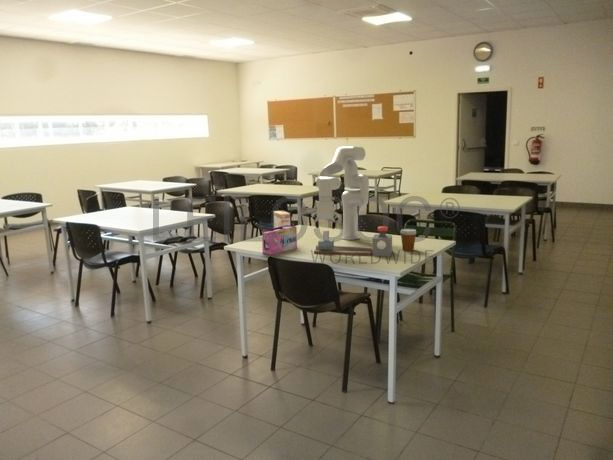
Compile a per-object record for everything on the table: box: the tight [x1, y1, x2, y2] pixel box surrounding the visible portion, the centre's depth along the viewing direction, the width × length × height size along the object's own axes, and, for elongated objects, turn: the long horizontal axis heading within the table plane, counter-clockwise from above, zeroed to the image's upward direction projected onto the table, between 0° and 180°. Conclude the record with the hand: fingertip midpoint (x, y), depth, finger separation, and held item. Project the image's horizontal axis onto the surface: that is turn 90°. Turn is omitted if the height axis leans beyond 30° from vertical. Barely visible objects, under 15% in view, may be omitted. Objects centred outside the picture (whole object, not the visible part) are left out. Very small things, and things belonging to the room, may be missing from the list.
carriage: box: [317, 229, 335, 250], centre depth 302 cm, size 7×8×11 cm
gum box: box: [261, 225, 298, 256], centre depth 307 cm, size 24×8×14 cm, turn 140°
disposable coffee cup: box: [399, 228, 417, 252], centre depth 302 cm, size 10×10×12 cm
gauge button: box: [377, 225, 389, 238], centre depth 293 cm, size 6×6×9 cm
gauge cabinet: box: [372, 233, 393, 257], centre depth 294 cm, size 12×10×10 cm
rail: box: [313, 244, 373, 256], centre depth 300 cm, size 12×33×4 cm, turn 76°
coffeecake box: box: [273, 210, 291, 228], centre depth 332 cm, size 15×7×20 cm, turn 20°
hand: (325, 228), depth 300 cm, fingers open, 9 cm apart
